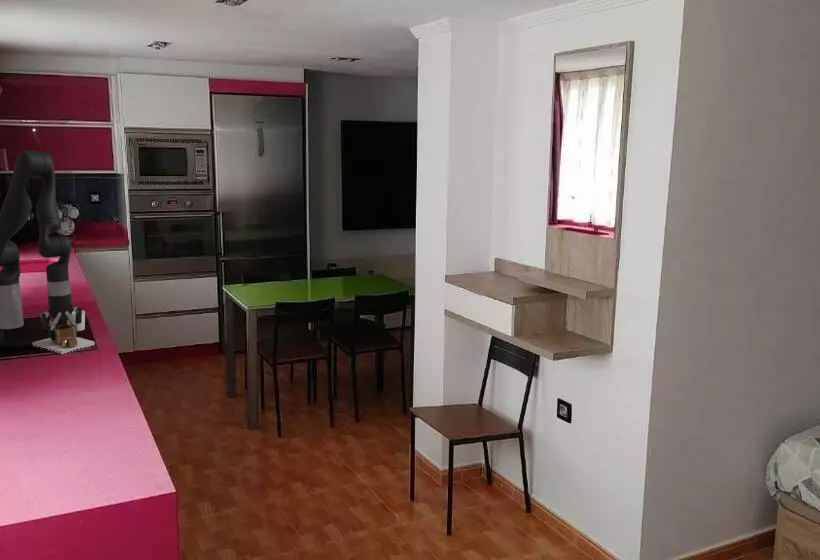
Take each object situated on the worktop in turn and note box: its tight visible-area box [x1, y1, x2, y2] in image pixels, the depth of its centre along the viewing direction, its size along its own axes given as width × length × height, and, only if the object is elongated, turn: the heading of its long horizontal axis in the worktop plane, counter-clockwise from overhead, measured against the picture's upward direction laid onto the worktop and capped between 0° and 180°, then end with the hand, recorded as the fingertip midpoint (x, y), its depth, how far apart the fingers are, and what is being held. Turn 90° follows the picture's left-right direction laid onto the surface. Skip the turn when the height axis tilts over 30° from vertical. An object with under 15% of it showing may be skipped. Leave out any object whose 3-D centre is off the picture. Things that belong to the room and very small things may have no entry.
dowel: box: [62, 340, 67, 348], centre depth 256 cm, size 2×2×2 cm
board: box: [31, 336, 96, 355], centre depth 262 cm, size 17×13×1 cm
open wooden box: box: [51, 323, 77, 347], centre depth 259 cm, size 12×6×5 cm, turn 47°
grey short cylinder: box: [66, 309, 86, 332], centre depth 281 cm, size 7×7×7 cm
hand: (63, 337), depth 261 cm, fingers closed on open wooden box, 6 cm apart
